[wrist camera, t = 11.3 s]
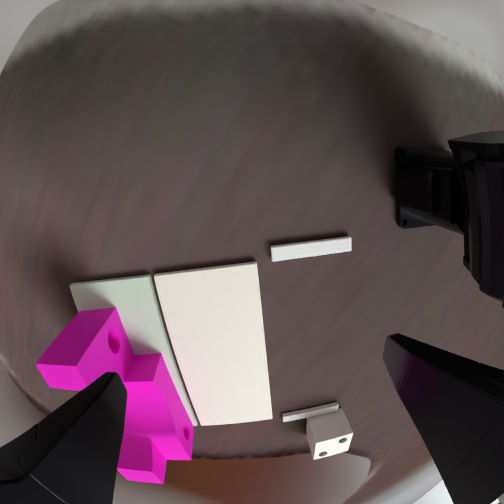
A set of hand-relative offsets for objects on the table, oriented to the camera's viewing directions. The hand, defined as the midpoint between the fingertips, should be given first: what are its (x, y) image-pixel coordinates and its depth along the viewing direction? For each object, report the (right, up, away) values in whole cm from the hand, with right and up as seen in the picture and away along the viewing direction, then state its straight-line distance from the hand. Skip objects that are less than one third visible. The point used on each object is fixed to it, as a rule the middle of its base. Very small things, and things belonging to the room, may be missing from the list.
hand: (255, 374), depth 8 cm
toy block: (-10, -8, +14) cm, 19 cm away
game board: (-3, -5, +14) cm, 15 cm away
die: (+8, -16, +18) cm, 25 cm away
